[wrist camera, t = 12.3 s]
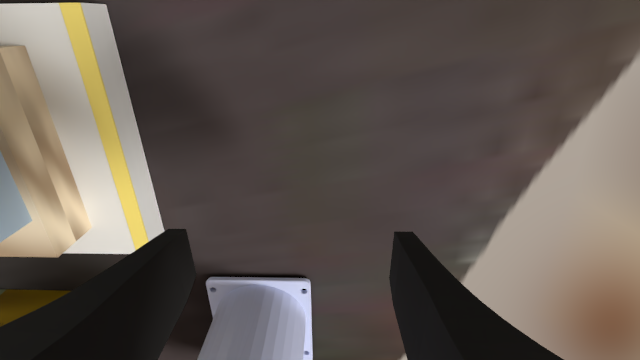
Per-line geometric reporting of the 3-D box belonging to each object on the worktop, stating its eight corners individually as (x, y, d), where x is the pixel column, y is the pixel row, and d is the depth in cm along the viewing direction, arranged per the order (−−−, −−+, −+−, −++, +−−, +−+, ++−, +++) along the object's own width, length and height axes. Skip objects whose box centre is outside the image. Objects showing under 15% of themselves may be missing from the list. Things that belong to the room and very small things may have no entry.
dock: (165, 236, 24) (151, 255, 22) (5, 235, 25) (-21, 253, 23) (105, 4, 18) (79, 2, 16) (-111, 6, 18) (-162, 5, 16)
